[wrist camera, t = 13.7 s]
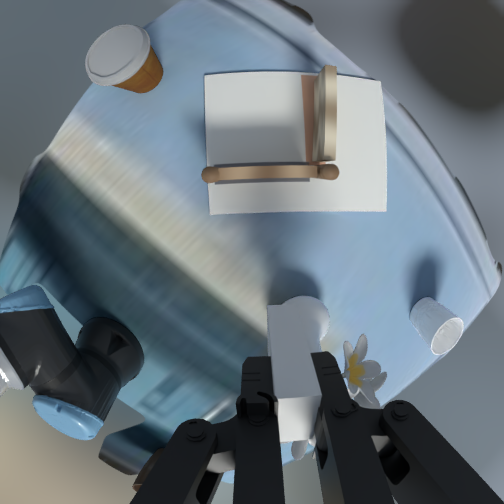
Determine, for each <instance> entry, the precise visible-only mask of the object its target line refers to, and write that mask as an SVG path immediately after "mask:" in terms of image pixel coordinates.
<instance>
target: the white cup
mask: <svg viewBox="0 0 504 504" xmlns="http://www.w3.org/2000/svg"><path fill="white" fill-rule="evenodd" d="M410 321H411V323H412V325H413V326H414V327H415V329H416V331H417V332H418V333H419V335H420V336H421V338H422V339H423V340H424V342H425V343H426V344H427V346H428V347H429V348H430V350H431V351H432V352H433V353H434V354H436V355H441V354H444V353H446V352H448V351H449V350H450V349H452V348H453V347H454V346H455V345H456V343H457V342H458V340H459V339H460V337H461V335H462V332H463V327H464V324H463V321H462V319H461V318H459V317H458V316H457V315H456V314H454V313H453V312H452V311H450V310H449V309H448V308H446V307H445V306H443V305H442V304H440V303H438V302H436V301H435V300H434V299H432V298H431V297H424V298H422V299H421V300H419V301H418V302H417V303H416V304H415V305H414V306H413V308H412V310H411V313H410Z"/></svg>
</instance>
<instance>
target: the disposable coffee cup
mask: <svg viewBox="0 0 504 504" xmlns="http://www.w3.org/2000/svg"><path fill="white" fill-rule="evenodd" d="M85 67H86V71H87V73H88V76H89V78H90V79H91V80H92V81H93V82H94V83H95V84H97V85H101V86H115V87H119V88H123V89H126V90H130V91H133V92H136V93H145V92H148V91H150V90H152V89H154V88H155V87H156V86H157V85H158V84H159V82H160V81H161V79H162V76H163V68H162V66H161V64H160V62H159V60H158V58H157V56H156V54H155V52H154V50H153V48H152V47H151V45H150V38H149V35H148V33H147V32H146V31H145V30H144V29H143V28H141V27H139V26H135V25H129V24H124V25H118V26H115V27H113V28H111V29H109V30H107V31H106V32H104V33H103V34H102V35H100V36H99V37H98V38H97V39H96V40H95V42H94V43H93V44H92V46H91V48H90V49H89V51H88V53H87V56H86V61H85Z"/></svg>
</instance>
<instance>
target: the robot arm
mask: <svg viewBox="0 0 504 504" xmlns="http://www.w3.org/2000/svg"><path fill="white" fill-rule="evenodd" d="M267 322H268V356H262V357H247V359H246V360H245V362H244V363H243V364H242V382H241V395H240V396H239V397H238V398H237V401H236V409H237V414H236V415H235V416H234V417H233V418H231V419H230V420H228V421H225V422H221V423H217V424H211V423H210V422H208V421H206V420H204V419H196V418H195V419H190V420H187V421H185V422H183V423H181V424H180V425H179V426H178V428H177V429H176V431H175V432H174V434H173V436H172V437H171V439H170V441H169V442H168V444H167V445H166V447H165V449H164V450H163V452H162V453H161V455H160V457H159V458H158V460H157V462H156V463H155V465H154V466H153V468H152V469H151V471H150V473H149V474H148V476H147V477H146V479H145V481H144V482H143V484H142V485H141V487H140V488H139V490H138V491H137V493H136V495H135V496H134V498H133V499H132V501H131V502H130V504H211V502H212V499H213V497H214V495H215V492H216V490H217V488H218V485H219V483H220V481H221V479H222V476H223V474H224V472H226V471H230V470H235V475H234V493H233V504H285V496H284V483H283V471H282V458H281V446H280V442H287V441H298V440H308V439H313V436H314V434H315V439H316V444H315V448H314V452H313V458H312V459H315V457H316V461H317V466H318V472H319V477H320V484H321V490H322V496H323V502H324V504H395V503H394V500H393V497H394V499H395V500H396V501H397V503H398V504H504V502H503V501H502V500H501V499H500V498H499V496H498V495H497V494H496V493H495V492H494V491H493V490H492V489H491V488H490V487H489V486H488V484H487V483H486V482H485V481H484V480H483V479H482V478H481V477H480V476H479V475H478V474H477V472H476V471H475V470H474V469H473V468H472V467H471V466H470V465H469V464H468V463H467V462H466V461H465V460H464V458H463V457H462V456H461V455H460V454H459V453H458V452H457V451H456V450H455V449H454V448H453V447H452V446H451V445H450V444H449V443H448V441H446V439H445V438H444V437H443V436H442V435H441V434H440V433H439V432H438V431H437V430H436V429H435V428H434V427H433V426H432V425H431V423H430V422H429V421H428V420H427V419H426V418H425V417H424V416H423V415H422V414H421V413H420V412H419V411H418V410H417V409H416V408H415V407H414V406H413V405H412V404H411V403H409V402H407V401H403V400H395V401H392V402H389V403H388V404H387V405H386V406H385V407H384V409H370V408H364V407H361V406H359V404H358V403H357V402H356V401H354V400H353V399H351V397H350V395H349V392H348V390H347V387H346V384H345V382H344V379H343V377H342V374H341V371H340V369H339V367H338V364H337V361H336V359H335V357H334V356H333V355H331V354H330V353H329V352H328V351H325V352H315V353H310V350H309V347H308V343H307V340H306V336H305V333H304V330H303V326H302V323H301V319H300V316H299V313H298V309H297V306H296V304H287V305H267ZM143 364H144V354H143V351H142V348H141V346H140V344H139V342H138V341H137V339H136V338H135V337H134V335H133V334H132V333H131V332H130V331H129V330H128V329H126V328H125V327H124V326H122V325H121V324H119V323H117V322H116V321H113V320H111V319H108V318H102V317H97V318H93V319H90V320H89V321H88V322H87V323H86V324H85V325H84V326H83V327H82V328H81V330H80V332H79V335H78V339H77V341H76V344H75V345H74V343H73V342H72V340H71V338H70V337H69V335H68V333H67V331H66V330H65V328H64V326H63V325H62V323H61V321H60V319H59V317H58V315H57V314H56V312H55V310H54V306H53V305H51V303H50V301H49V299H48V298H47V296H46V294H45V292H44V291H43V289H42V288H41V287H40V286H37V285H31V286H28V287H26V288H23V289H21V290H18V291H16V292H14V293H12V294H9V295H7V296H5V297H3V298H1V299H0V397H1V396H2V395H3V394H4V393H5V392H6V391H7V390H8V389H9V388H14V389H19V390H23V389H24V388H25V387H26V386H27V385H28V384H29V386H30V387H31V388H32V390H33V391H34V392H35V394H36V395H35V396H34V397H33V402H32V404H33V406H34V408H35V410H36V412H37V413H38V414H39V415H40V416H41V417H42V418H43V419H44V420H45V421H46V422H47V423H49V424H50V425H51V426H53V427H54V428H55V429H57V430H59V431H60V432H62V433H64V434H66V435H68V436H70V437H73V438H76V439H80V440H90V439H93V438H94V437H95V436H96V434H97V433H98V431H99V430H100V428H101V427H102V426H103V424H104V421H105V419H106V417H107V414H108V413H109V411H110V408H111V406H112V405H113V403H114V401H115V399H116V397H117V395H118V393H119V391H120V389H121V388H122V387H123V386H125V385H126V384H127V383H128V382H129V381H130V380H132V379H134V378H135V377H136V376H137V375H138V374H139V372H140V370H141V368H142V367H143ZM392 496H393V497H392Z"/></svg>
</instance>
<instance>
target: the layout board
mask: <svg viewBox="0 0 504 504" xmlns="http://www.w3.org/2000/svg"><path fill="white" fill-rule="evenodd" d="M318 74H319V73H305V72H240V73H225V74H214V75H205V125H206V152H207V167H209V166H212V167H219V168H228V167H248V166H290V165H305V166H314V165H322V164H335V165H336V166H337V167H338V169H339V176H338V178H337V179H335V180H325V179H316V178H258V179H234V180H222V181H218V182H214V183H208V192H209V208H210V215H219V214H240V213H268V212H312V211H379V212H386V203H387V151H386V131H385V117H384V106H383V97H382V89H381V82H380V81H375V80H369V79H363V78H356V77H349V76H341V75H337V135H336V160H335V161H329V162H313V161H312V152H313V125H314V80H315V79H316V77H317V76H318Z"/></svg>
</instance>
